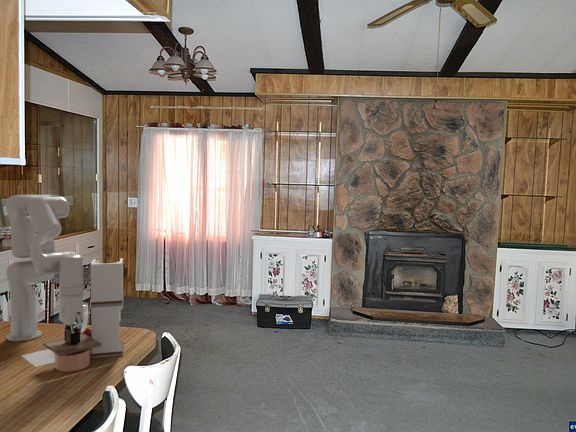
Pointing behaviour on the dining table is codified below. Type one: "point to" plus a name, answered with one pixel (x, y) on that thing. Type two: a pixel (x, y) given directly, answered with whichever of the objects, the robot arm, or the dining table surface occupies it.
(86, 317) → the beer glass
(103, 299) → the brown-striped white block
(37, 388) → the dining table surface
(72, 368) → the bowl
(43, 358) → the mat
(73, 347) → the lid
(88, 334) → the onion
